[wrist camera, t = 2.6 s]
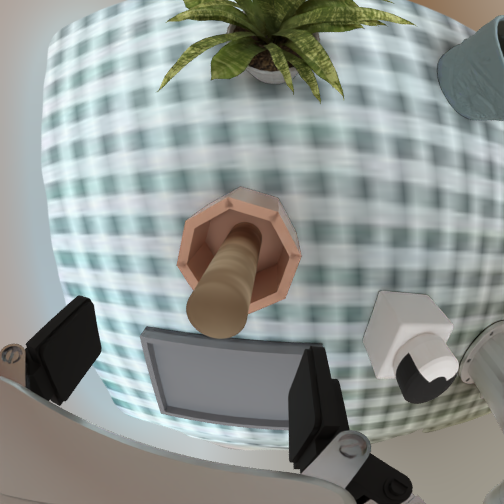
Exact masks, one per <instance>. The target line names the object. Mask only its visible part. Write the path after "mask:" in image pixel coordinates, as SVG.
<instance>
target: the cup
mask: <svg viewBox="0 0 504 504" xmlns="http://www.w3.org/2000/svg"><path fill="white" fill-rule="evenodd" d="M241 222H249V223H252V224H254V225H255V226H257V227H258V228H259V230H260V232H261V234H262V243H261V249H260V254H259V259H258V264H257V270H256V275H255V280H254V285H253V291H252V296H251V301H250V306H249V311H248V314H250V313H252V312H255V311H257V310H259V309H262V308H264V307H267V306H269V305H271V304H274V303H276V302H278V301H280V300H283V299H285V298H286V295H287V293H288V290H289V288H290V285H291V282H292V280H293V277H294V275H295V272H296V269H297V267H298V264H299V261H300V259H301V257H302V255H301V251H300V247H299V242H298V238H297V234H296V231H295V229H294V227H293V225H292V223H291V221H290V219H289V217H288V215H287V214H286V212H285V210H284V208H283V206H282V204H281V202H280V200H279V198H277V197H274V196H271V195H267V194H264V193H261V192H257V191H254V190H251V189H247V188H244V187H239V188H237V189H235V190H234V191H232V192H230V193H228V194H226V195H225V196H223V197H221V198H219V199H218V200H216V201H214V202H212V203H211V204H209V205H207V206H205V207H204V208H203V209H201V210H200V211H198V212H197V213H196V214H194V215H193V216H192V217H190V218H189V219H187V220H186V221H185V226H184V231H183V236H182V241H181V246H180V251H179V256H178V261H177V266H178V268H179V269H180V271H181V273H182V274H183V276H184V277H185V279H186V280H187V282H188V283H189V285H190V286H191V288H192V289H193V291H194V289H195V287H196V286H197V284H198V282H199V281H200V279H201V277H202V276H203V274H204V273H205V271H206V269H207V268H208V266H209V264H210V263H211V261H212V259H213V258H214V256H215V255H216V253H217V251H218V250H219V248H220V247H221V245H222V243H223V242H224V240H225V239H226V237H227V235H228V234H229V232H230V231H231V229H232V228H233V227H234V226H235V225H236V224H238V223H241Z"/></svg>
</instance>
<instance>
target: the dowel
mask: <svg viewBox="0 0 504 504" xmlns="http://www.w3.org/2000/svg"><path fill="white" fill-rule="evenodd" d="M261 243H262V234H261V232H260V230H259V228H258V227H257V226H255V225H254V224H252V223H249V222H241V223H238V224H236V225H235V226H234V227H233V228H232V229H231V231H230V232H229V234H228V235H227V237H226V239H225V240H224V242H223V243H222V245H221V247H220V248H219V250H218V251H217V253H216V255H215V256H214V258H213V259H212V261H211V263H210V264H209V266H208V268H207V269H206V271H205V273H204V274H203V276H202V277H201V279H200V281H199V282H198V284H197V286H196V287H195V289H194V291H193V292H192V294H191V296H190V297H189V299H188V302H187V306H186V312H187V316H188V319H189V321H190V322H191V324H192V325H193V326H194V328H196V329H197V330H198V331H199V332H201V333H202V334H204V335H206V336H209V337H212V338H217V339H224V338H230V337H233V336H235V335H236V334H238V333H239V332H240V331H241V330H242V329H243V328H244V326H245V324H246V321H247V316H248V311H249V306H250V301H251V296H252V291H253V285H254V280H255V275H256V270H257V264H258V259H259V254H260V249H261Z"/></svg>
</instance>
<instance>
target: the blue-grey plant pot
mask: <svg viewBox="0 0 504 504" xmlns="http://www.w3.org/2000/svg"><path fill="white" fill-rule="evenodd" d="M437 74H438V80H439V82H440V86H441V89H442V91H443V93H444V95H445V97H446V98H447V100H448V101H449V103H450V104H451V106H452V107H453V108H454V109H455V110H456V111H457V112H458V113H459V114H461V115H462V116H464V117H466V118H468V119H471V120H498V121H504V15H500V16H497V17H496V18H495V19H493V20H492V21H490V22H489V23H487V24H486V25H484V26H483V27H482V28H481V29H479V31H477V32H476V33H475V34H474V35H472V36H470V37H469V38H468V39H464V41H463V42H462V44H459V45H457V46H455V47H453V48H452V49H451V50H449V51H448V52H446V53H445V54H444V55H443V56H442V57H441V59H440V60H439V63H438V67H437Z"/></svg>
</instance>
